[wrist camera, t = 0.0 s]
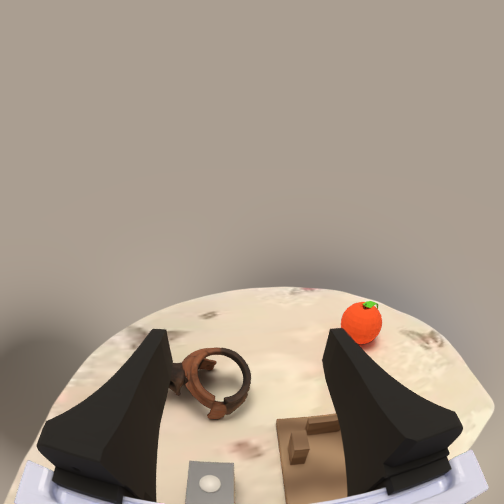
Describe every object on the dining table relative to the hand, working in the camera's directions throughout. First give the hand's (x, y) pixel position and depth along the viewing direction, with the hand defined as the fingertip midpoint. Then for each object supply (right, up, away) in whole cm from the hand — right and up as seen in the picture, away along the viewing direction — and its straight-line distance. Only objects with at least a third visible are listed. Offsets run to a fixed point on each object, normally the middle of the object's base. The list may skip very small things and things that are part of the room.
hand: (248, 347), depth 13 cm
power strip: (-3, -22, +5) cm, 22 cm away
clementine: (+18, -11, +34) cm, 40 cm away
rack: (+8, -20, +9) cm, 24 cm away
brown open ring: (-6, -15, +23) cm, 28 cm away
